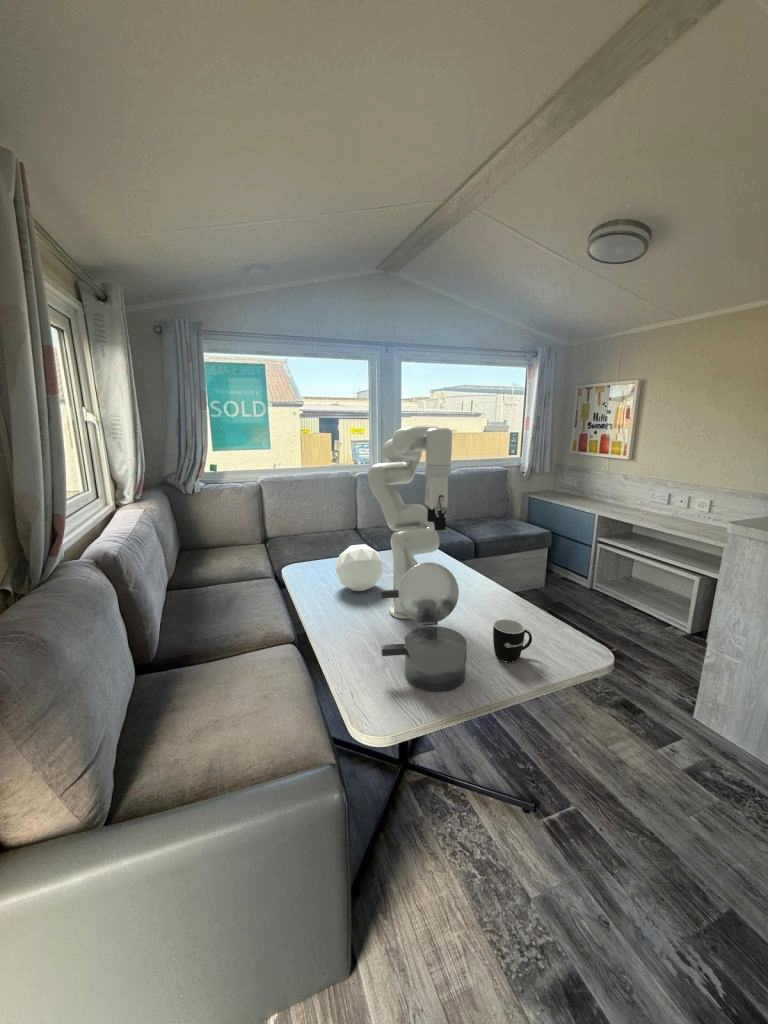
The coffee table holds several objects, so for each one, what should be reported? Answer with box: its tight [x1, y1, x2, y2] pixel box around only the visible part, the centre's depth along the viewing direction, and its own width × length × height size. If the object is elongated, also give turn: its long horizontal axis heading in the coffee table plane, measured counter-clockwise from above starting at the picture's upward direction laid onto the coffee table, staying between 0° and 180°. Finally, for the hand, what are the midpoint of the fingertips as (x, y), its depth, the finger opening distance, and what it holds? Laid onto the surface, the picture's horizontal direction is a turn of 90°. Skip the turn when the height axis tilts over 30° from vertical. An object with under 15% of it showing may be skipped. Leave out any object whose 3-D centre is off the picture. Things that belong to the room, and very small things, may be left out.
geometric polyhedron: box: [335, 543, 383, 592], centre depth 176 cm, size 19×20×20 cm
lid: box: [380, 561, 460, 627], centre depth 125 cm, size 19×23×2 cm
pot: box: [380, 625, 468, 693], centre depth 118 cm, size 17×24×10 cm
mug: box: [492, 618, 533, 663], centre depth 126 cm, size 12×9×10 cm
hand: (436, 525), depth 130 cm, fingers open, 9 cm apart
